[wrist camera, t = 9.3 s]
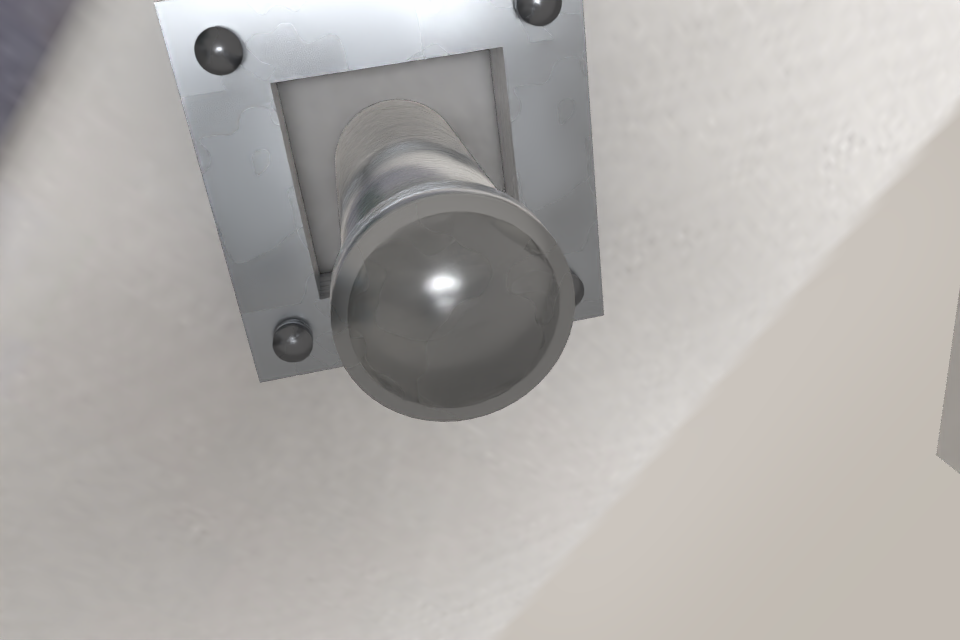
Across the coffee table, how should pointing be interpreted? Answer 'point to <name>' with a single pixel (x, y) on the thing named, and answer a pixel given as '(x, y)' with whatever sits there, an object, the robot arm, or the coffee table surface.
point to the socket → (351, 46)
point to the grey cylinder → (439, 272)
